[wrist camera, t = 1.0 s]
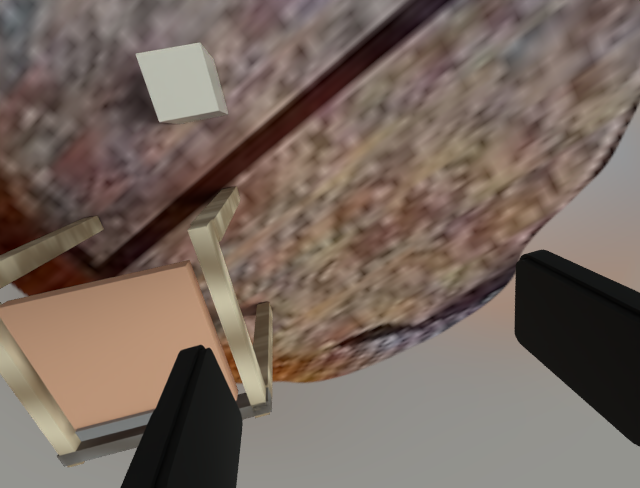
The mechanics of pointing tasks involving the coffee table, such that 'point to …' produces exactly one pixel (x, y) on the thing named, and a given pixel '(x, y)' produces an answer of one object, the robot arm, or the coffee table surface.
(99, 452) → the trapdoor frame
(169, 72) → the smooth gray block
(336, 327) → the coffee table surface
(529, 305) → the robot arm
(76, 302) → the trapdoor
